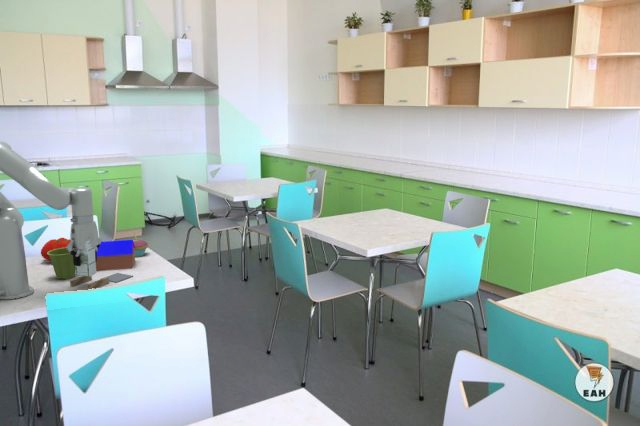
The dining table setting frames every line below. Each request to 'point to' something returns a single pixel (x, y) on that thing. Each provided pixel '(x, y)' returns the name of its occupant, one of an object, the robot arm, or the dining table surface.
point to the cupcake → (139, 246)
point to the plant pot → (62, 263)
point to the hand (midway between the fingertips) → (85, 262)
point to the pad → (118, 277)
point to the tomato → (53, 246)
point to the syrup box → (86, 261)
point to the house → (115, 255)
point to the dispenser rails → (90, 285)
